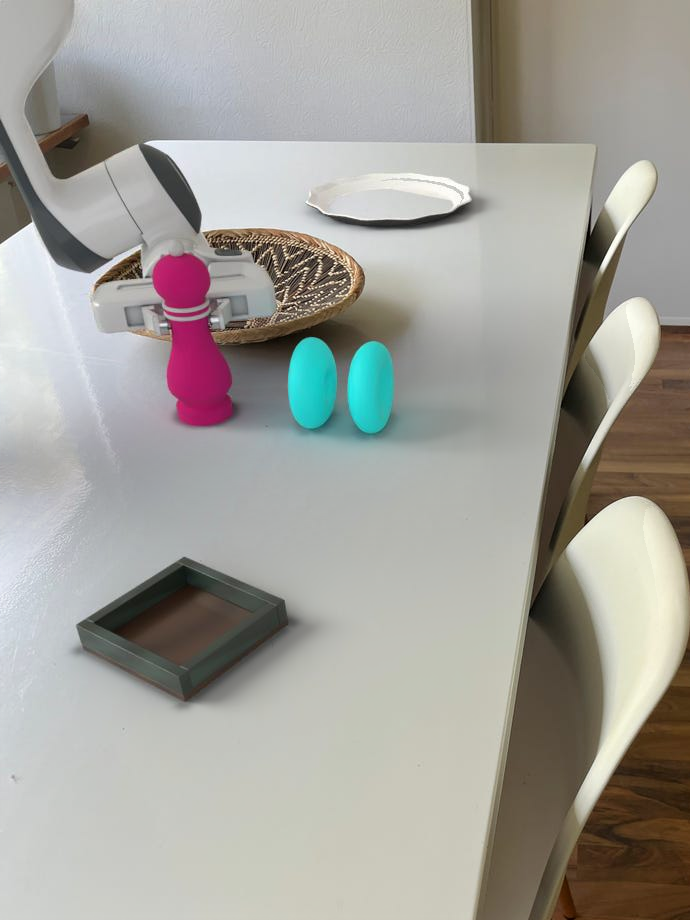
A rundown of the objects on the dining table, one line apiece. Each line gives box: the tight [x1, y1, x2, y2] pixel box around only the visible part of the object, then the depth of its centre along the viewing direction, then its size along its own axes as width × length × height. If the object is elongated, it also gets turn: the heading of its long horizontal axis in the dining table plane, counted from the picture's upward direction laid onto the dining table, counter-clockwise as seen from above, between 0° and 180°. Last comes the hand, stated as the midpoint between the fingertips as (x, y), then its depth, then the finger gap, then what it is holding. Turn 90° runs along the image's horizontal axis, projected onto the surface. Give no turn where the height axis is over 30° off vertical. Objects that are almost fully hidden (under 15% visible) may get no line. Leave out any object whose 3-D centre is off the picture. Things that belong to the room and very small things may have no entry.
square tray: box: [75, 556, 289, 703], centre depth 86 cm, size 12×12×3 cm
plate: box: [305, 172, 473, 228], centre depth 184 cm, size 29×29×2 cm
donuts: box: [287, 336, 395, 435], centre depth 114 cm, size 10×10×10 cm
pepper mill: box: [152, 239, 234, 427], centre depth 113 cm, size 7×7×20 cm
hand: (190, 326), depth 112 cm, fingers closed on pepper mill, 4 cm apart
